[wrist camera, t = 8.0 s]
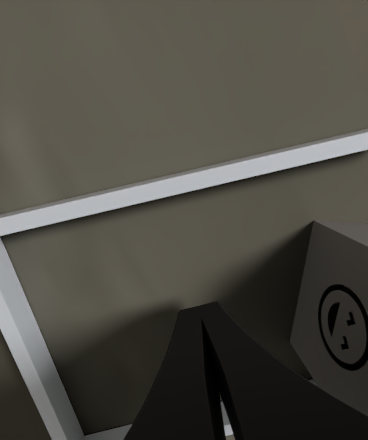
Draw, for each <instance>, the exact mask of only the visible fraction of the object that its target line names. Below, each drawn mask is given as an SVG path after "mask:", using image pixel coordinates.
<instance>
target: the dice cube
mask: <svg viewBox="0 0 368 440" xmlns="http://www.w3.org/2000/svg"><path fill="white" fill-rule="evenodd" d="M290 344H291V345H292V347H293V348H294V350H295V351H296V353H297V354H298V356H299V357H300V359H301V360H302V362H303V364H304V365H305V367H306V368H307V370H308V371H309V373H310V374H311V376H312V377H313V379H314V380H315V382H316V383H317V385H318V387H319V388H321V389H322V390H324V391H325V392H327V393H329V394H330V395H332V396H333V397H335V398H337V399H338V400H340V401H342V402H344V403H346V404H347V405H349V406H351V407H353V408H354V409H356V410H358V411H360V412H361V413H363V414H365V415H367V416H368V224H366V223H349V222H332V221H315V220H314V221H313V227H312V232H311V237H310V242H309V247H308V252H307V257H306V262H305V267H304V272H303V277H302V282H301V287H300V292H299V297H298V302H297V307H296V312H295V317H294V322H293V327H292V332H291V337H290Z"/></svg>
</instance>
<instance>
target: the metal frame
mask: <svg viewBox="0 0 368 440" xmlns="http://www.w3.org/2000/svg"><path fill="white" fill-rule="evenodd" d="M364 150H368V129H364V130H360V131H356V132H351V133H347V134H343V135H339V136H334V137H330V138H326V139H321V140H317V141H313V142H309V143H304V144H300V145H296V146H292V147H287V148H283V149H279V150H274V151H270V152H266V153H262V154H257V155H253V156H249V157H244V158H240V159H236V160H232V161H227V162H223V163H219V164H214V165H210V166H206V167H202V168H197V169H193V170H189V171H184V172H180V173H176V174H172V175H167V176H163V177H159V178H155V179H150V180H146V181H142V182H137V183H133V184H129V185H125V186H120V187H116V188H112V189H107V190H103V191H99V192H95V193H90V194H86V195H82V196H77V197H73V198H69V199H65V200H60V201H56V202H52V203H48V204H43V205H39V206H35V207H30V208H26V209H22V210H18V211H13V212H9V213H5V214H0V236H2V235H6V234H11V233H15V232H19V231H23V230H28V229H32V228H36V227H40V226H45V225H49V224H53V223H57V222H62V221H66V220H70V219H75V218H79V217H83V216H87V215H92V214H96V213H100V212H104V211H109V210H113V209H117V208H121V207H126V206H130V205H134V204H138V203H143V202H147V201H151V200H155V199H160V198H164V197H168V196H172V195H177V194H181V193H185V192H189V191H194V190H198V189H202V188H206V187H211V186H215V185H219V184H224V183H228V182H232V181H236V180H241V179H245V178H249V177H253V176H258V175H262V174H266V173H270V172H275V171H279V170H283V169H287V168H292V167H296V166H300V165H304V164H309V163H313V162H317V161H321V160H326V159H330V158H334V157H338V156H343V155H347V154H351V153H355V152H360V151H364ZM0 329H1V332H2V334H3V336H4V338H5V340H6V342H7V344H8V347H9V349H10V351H11V353H12V355H13V357H14V359H15V362H16V364H17V366H18V368H19V370H20V372H21V374H22V377H23V379H24V381H25V383H26V385H27V387H28V389H29V392H30V394H31V396H32V398H33V400H34V402H35V404H36V407H37V409H38V411H39V413H40V415H41V417H42V419H43V422H44V424H45V426H46V428H47V430H48V432H49V434H50V437H51V439H52V440H123V439H124V437H125V436H126V434H127V432H128V431H129V429H130V427H131V426H132V424H130V425H126V426H122V427H118V428H114V429H110V430H106V431H102V432H98V433H94V434H90V435H86V436H84V434H83V431H82V429H81V426H80V424H79V422H78V419H77V417H76V415H75V412H74V410H73V408H72V405H71V403H70V400H69V398H68V396H67V393H66V391H65V389H64V386H63V384H62V382H61V379H60V377H59V374H58V372H57V370H56V367H55V365H54V363H53V360H52V358H51V356H50V353H49V351H48V348H47V346H46V344H45V341H44V339H43V337H42V334H41V332H40V330H39V327H38V325H37V322H36V320H35V318H34V315H33V313H32V311H31V308H30V306H29V304H28V301H27V299H26V296H25V294H24V292H23V289H22V287H21V285H20V282H19V280H18V278H17V275H16V273H15V270H14V268H13V266H12V263H11V261H10V259H9V256H8V254H7V252H6V249H5V247H4V244H3V242H2V240H1V237H0ZM308 381H310V382H311V383H313V384H314V385H316V386H318V385H317V383H316V382H315V380H314V379H311V380H308ZM221 409H222V416H223V423H224V430H225V436H227V435H231V434H233V431H232V428H231V425H230V422H229V419H228V416H227V413H226V410H225V407H224V404H223V402H221Z"/></svg>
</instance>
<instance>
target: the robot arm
mask: <svg viewBox="0 0 368 440" xmlns="http://www.w3.org/2000/svg"><path fill="white" fill-rule="evenodd" d="M219 392H220V395H221V398H222V401H223V404H224V407H225V410H226V413H227V416H228V419H229V422H230V425H231V428H232V431H233V434H234V437H235V440H368V416H367V415H365V414H363V413H361V412H360V411H358V410H356V409H354V408H353V407H351V406H349V405H347V404H346V403H344V402H342V401H340V400H338V399H337V398H335V397H333V396H332V395H330V394H329V393H327V392H325V391H324V390H322V389H321V388H319V387H318V386H316V385H314V384H313V383H311V382H310V381H308V380H307V379H305V378H304V377H303V376H301V375H300V374H298V373H297V372H295V371H294V370H293V369H291V368H290V367H288V366H287V365H286V364H284V363H283V362H282V361H280V360H279V359H278V358H277V357H275V356H274V355H273V354H272V353H270V352H269V351H268V350H267V349H265V348H264V347H263V346H262V345H261V344H260V343H258V342H257V341H256V340H255V339H254V338H253V337H252V336H251V335H250V334H249V333H248V332H246V331H245V330H244V329H243V328H242V327H241V326H240V325H239V324H238V323H237V322H236V321H235V320H234V319H233V318H232V316H231V315H230V314H229V313H228V312H227V311H226V310H225V308H224V307H223V306H222V304H221V303H219V302H218V301H217V302H212V303H208V304H204V305H200V306H196V307H192V308H188V309H184V310H180V312H179V313H178V315H177V320H176V324H175V328H174V331H173V335H172V338H171V341H170V344H169V346H168V349H167V352H166V355H165V357H164V360H163V363H162V365H161V367H160V369H159V372H158V374H157V376H156V379H155V381H154V383H153V385H152V388H151V390H150V392H149V394H148V396H147V398H146V400H145V402H144V404H143V406H142V408H141V409H140V411H139V413H138V415H137V417H136V419H135V420H134V422H133V424H132V426H131V427H130V429H129V431H128V432H127V434H126V436H125V437H124V439H123V440H226V437H225V430H224V423H223V416H222V409H221V402H220V395H219Z"/></svg>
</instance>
